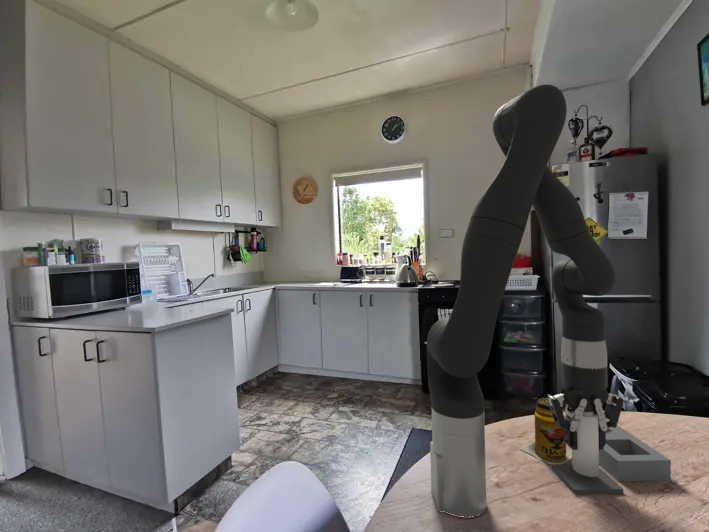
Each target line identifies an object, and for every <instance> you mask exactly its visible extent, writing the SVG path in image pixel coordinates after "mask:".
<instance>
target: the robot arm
mask: <svg viewBox="0 0 709 532" xmlns="http://www.w3.org/2000/svg"><path fill="white" fill-rule="evenodd" d="M567 108H568V107H567V102H566V97H565V96H564V94H563V91H561V90H560V88H559V87H557V86H555V85H552V84H540V85H537V86H534V87H532V88H529V89H527V90H525V91H524V92H522V93H521V94H519V95H517V96H516V97H514V98H512V99H510V100H508V101H507V102H505V103H503V105H501V106H500V107H499V108H498V109H497V111H496V112H495V114H494V116H493V119H492V132H493V136H494V138H495V141H496V142H497V144H498V147H499V148H500V150H501V152H502V153H503V155H504V156H505V160H504V161H503V163H502V166H501V167H500V169H499V170H498V172H497V173H496V175H495V177H494V178H493V180H492V181H491V182H490V183H489V185H488V186H487V188H486V189H485V190H484V192H483V194H482V195H481V196H480V198H479V199H478V201H477V203H476V205H475V206H474V209H473V211H472V214H471V216H470V219H469V222H468V224H467V228H466V232H465V235H464V239H463V242H462V249H461V255H460V256H461V257H460V258H461V259H460V279H459V287H458V293H457V297H456V300H455V302H454V306H453V308H452V311H451V314H450V316H448V317H447V316H446V317H444V318H440V319H439V320H437V321H436V322H435V323H434V324H433V325H432V326H431V327H430V329H429V331H428V333H427V337H426V338H427V339H426V362H427V363H426V364H427V379H428V380H427V381H428V390H429V392H430V393H429V394H430V401H431V403H430V404H431V433H432V434H431V438H432V439H431V440H432V441H429V448H430V449H429V450H430V453H429V454H430V455H429V456H430V457H429V458H430V485H431V486H430V487H431V488H430V491H431V494H432V497H434V498H433V500H435V501H434V504H435V507H437V508H436V510H439V511H445V512H448V513H451V514H454V515H457V516H464V517H470V516H471V517H472V516H477V515H479V514H481V513H482V514H484V512H485V511H486V509H487V478H486V477H487V475H486V472H487V471H486V435H485V434H486V433H485V432H486V431H485V430H486V429H485V427H486V426H485V424H486V423H485V398H484V394H483V393H484V392H483V391H482V388H481V386H480V382H479V379H478V375H477V373H479V372H480V371H481V370H483V368H484V367H485V365H486V363H487V362H488V360H489V356H490V353H491V349H492V348H491V347H492V345H493V340H494V334H495V329H496V323H497V319H498V314H499V309H500V306H501V302H502V301H503V296H504V293H505V291H506V288H507V284H508V282H509V278H510V276H511V272H512V269H513V265H514V263H515V261H516V257H517V255H518V253H519V250H520V246H521V243H522V241H523V237H524V233H525V231H526V227H527V225H528V224H527V223H528V220H529V217H530V213H531V210H532V207H533V208H534V210H535V213H536V216H537V218H538V220H539V223H540V224H539V225H540V226H541V229H542V232H543V235H544V237H545V240H546V242H547V244H548V247H549V248H550V250H551V251H552V253H553V252H554V253H555V254H559V255H562V256H565V257H568V258H565V259H561V260H559V261H558V262H557V263H556V264H555V265H554V267H553V269H552V273H551V285H552V288H553V289H552V290H553V293H554V297H555V298H556V301H557V305H558V309H559V311H560V314H561V330H562V331H561V333H562V335H561V337H562V339H561V344H560V345H561V347H560V353H561V354H560V359H561V360H560V361H561V382H562V389H560V393H558V394H555V395H552V394H550V393H548V394H547V395H546V397H545V398H547V401H548V404H549V407H550V410H551V413H552V416H553V419H554V422H555V423H557V424H558V425H559V426H560V427H561V428H563V429H565V442H566V446H568V447H569V448H570V449H571V451H572V450H577V431H576V428H577V425H578V422H579V421H581V418H582V415H583V412H594V414H596V415H597V416H598V433H599V450H602V449H604V446H605V445H606V430H607V429H608V428H610V427H612V428H615V427H616V426H617V425H618V423H619V419H620V416H621V412H622V409H623V406H624V403H625V400H624V398H623V397H620V396H619V395H617V394H615V393H613V392H612V393H609V392H608V390H607V388H608V383H609V382H608V380H609V378H608V377H609V375H608V349H607V343H606V319H605V313H604V312H603V311H602V310H601V309H599V308H596V307H593V306H591V305H590V304H588V303H587V302H586V300H585V297H584V296H591V297H600V296H605V295H608V294H609V293H610V292H612V290H613V289H614V287H615V284H616V271H615V268H614V265H613V263H612V262H611V260H610V258H609V257H608V255H607V254H606V253H605V252H604V251H603V249H602V247H601V246H600V245H599V244H598V242H597V241H596V240H595V239H594V237H593V236H592V235H591V233H590V231H589V227H588V225H587V222H586V218H585V215H584V213H583V210H582V208H581V206H580V203H579V201H578V199H577V198H576V196H575V195H574V194H573V192H571V190H570V189H569V188H568V187H567V186H566V185H565V184H564V183H563V182H562V181H561V180H560V178H558V177H557V175H556V174H555V173H553V171H552V170H551V168H550V167H549V166H548V163H549V162H550V159H551V157H552V154H553V153H554V150H555V148H556V145H557V144H558V142H559V139H560V136H561V135H562V131H563V130H564V127H565V123H566V117H567V112H568V111H567V110H568V109H567ZM563 402H565V404H566V405H565V408H564V404H563ZM605 403H606V404H605ZM603 406H605V408H604V409H603ZM561 407H563V408H564V415H563V412H562V409H561ZM572 411H574V412H575V413H572ZM564 416H565V417H564ZM484 510H485V511H484ZM445 512H444V513H445ZM482 514H481V515H482ZM479 516H480V515H479ZM477 517H478V516H477Z"/></svg>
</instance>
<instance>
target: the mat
mask: <svg viewBox="0 0 709 532" xmlns="http://www.w3.org/2000/svg"><path fill="white" fill-rule="evenodd" d="M550 467H551V470H552V471H553V472H554V473H555V474H556V475H557V477H558V478H559V479H560V480H561V481H562V482H563V483H564V484H565V486H567V488H568V489H569V491H571V492H572V493H573V494H574V495H590V494H591V495H592V494H593V495H597V494H600V495H601V494H604V495H605V494H624V488H623V487H622V486H621V485H619V483H617V481H616V480H614V479H613V478H612V477H611V476H609V475H608V474H607V473H606V472H605V470H603V469H601V468H600V467H599V475H598V476H596V477H588V476H584V475H581V474H579V473H577V472H576V471H575V470H574V469H573V467H572V463H571V464H570V463H569V464H568V463H567V464H565V463H564V464H555V465H551V464H550Z"/></svg>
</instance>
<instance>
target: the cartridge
mask: <svg viewBox="0 0 709 532" xmlns="http://www.w3.org/2000/svg"><path fill="white" fill-rule="evenodd" d="M572 413H575V412H574V411H572ZM576 431H577V450H572V449H571V454H572V458H571V460H572V462H571V464H572V467H573V469H574V470H575V471H576V472H577V473H579V474H581V475H584V476H588V477H596V476H598V475H599V468H600V465H599V433H598V416H597V415H596V414H594V412H583V415H582V418H581V421H579V422H578V425H577V428H576Z"/></svg>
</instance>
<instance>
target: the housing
mask: <svg viewBox="0 0 709 532" xmlns="http://www.w3.org/2000/svg"><path fill="white" fill-rule="evenodd" d="M671 461H672V460H671V459H670V458H668V457H666V456H665V455H664V454H662V453H660V452H658V450H656V449H654V448H653V447H651V446H650V445H648V444H647V443H645V442H644V441H642V440H641V439H639V438H638V437H636V436H635V435H634V434H632V433H630V432H628V431H627V430H626V429H624V428H623V427H621V426H620V425H618V424H617V426H616V427H615V428H612V427H610V428H608V429H607V432H606V445H605V446H604V449H602V450H599V467H601V468H603V469H604V471H606V472H607V473H608V474H609V475H610V476H612V477H613V478H614V479H615V481H616V482H658V481H659V482H661V481H662V482H663V481H665V482H667V481H668V482H669V481H672V479H671V478H672V476H671V475H672V473H671V472H672V471H671V469H672V468H671V467H672V465H671Z"/></svg>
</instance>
